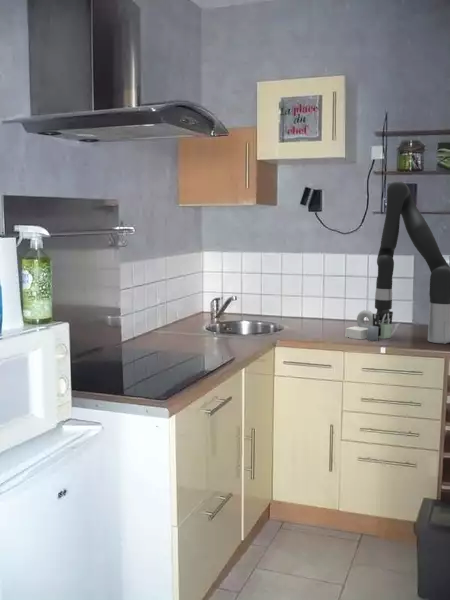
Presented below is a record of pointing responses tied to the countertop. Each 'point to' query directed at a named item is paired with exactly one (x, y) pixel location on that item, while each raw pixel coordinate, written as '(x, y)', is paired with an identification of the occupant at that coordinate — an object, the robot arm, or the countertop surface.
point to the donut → (362, 315)
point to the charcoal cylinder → (372, 333)
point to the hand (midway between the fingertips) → (381, 334)
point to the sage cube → (385, 330)
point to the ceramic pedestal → (356, 332)
